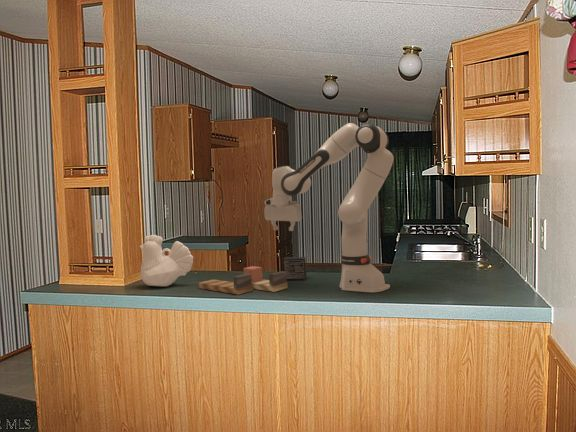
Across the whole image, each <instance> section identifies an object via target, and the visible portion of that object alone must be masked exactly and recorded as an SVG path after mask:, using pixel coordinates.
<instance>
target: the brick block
mask: <svg viewBox="0 0 576 432" xmlns="http://www.w3.org/2000/svg"><path fill="white" fill-rule="evenodd" d="M242 270H243V274H251V280H252V282H257V281H261V280H262V279H263V267H261V266H255V265H254V266H253V265H251V266H248V267H243V269H242Z"/></svg>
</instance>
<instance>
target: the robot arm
mask: <svg viewBox="0 0 576 432" xmlns="http://www.w3.org/2000/svg"><path fill="white" fill-rule="evenodd" d="M389 140H390V139H389V135H388V133H386V131H385V130H384V129H382V128H381V127H379V126H377V125H375V124H373V123H365V124H362V125H360V126H358V125H357V124H355V123H352V122H348V123H346V124H344V125H343V126H342V127H340V128H339V129H338V130H336V131H335V132H334V133H333V134H332V135H331V136H330V137H328V139H326V140H325V142H324V143H323V144H322V145H321V146H320V148H318V150H317V151H315V152H314V154H313V155H312V156H310V157H309V158H308V159H307V160H306V161H305V162H303V164H301V166H299V167H298V168H297V169H293V168H291V167H290V166H289V165H283V166H277V167H274V169H273V171H272V176H271V184H272V185H271V187H272V189H273V191H272V197H270V198H269V199H266V200H264V205H265V206H264V209H263V210H264V211H263V212H264V214H263V215H264V219H265V221H270V223H271V225H272V229H273V231H278V230H279V226H278V225H277V222H289V223H290V226H288V231H289V232H293V231H294V230H295V229H294V227H295V225H296V222H301V221H302V219H303V215H302V209H301V204H300V203H299V201H297V200H294V201H293V198H292V196H296V195H301V194H304V193H306V192H308V191H309V190H310V188H311V187H312V179H311V177H312V176H313V175H315V173H316V172H317V171H319V170H320V169H323V168H325V167H327V166H330V165H333V164H335V163H336V164H337V163H338V162H340V161H341V160H343V159H344V158H345V157H347V156H348V155H349V154H350V153H351V152H352V151H354V149H355V148H358V147H360V148H361V150H363V151H364V152H365V153H366V154H367V159H366V161H365V163H364V165H363V167H362V168H361V170H360V171H359V174H358V176H357V178H356V179H355V181H354V183H353V184H352V186H351V187H350V189H349V190H348V192H347V194H346V195H345V197H344V199H343V200H342V202H341V203H340V205H339V208H338V211H337V215H338V218H339V220H340V221H341V222H342V229H341V230H342V231H341V237H340V238H341V255H340V261H341V262H340V263H341V275H340V276H341V277H340V283H339V285H338V287H339V288H340V289H341V291H348V292H349V291H350V292H361V293H380V292H384V291H387V290H388V289H390V288H391V284H389V283H387V284H386V282H385V276H384V274H383V273H382V272H381V271H380V270H379V269H378V268H377V267H376V266H374V265H373V264H372V263H371V262H372V261H371V260H373V256H369V255H368V246H367V245H368V242H367V241H368V240H367V236H368V235H367V234H368V210H369V208H370V207H371V205H372V203H373V201H374V200H375V198H376V196H377V195H378V193H379V192H380V190H381V188H382V187H383V185H384V183H385V181H386V179H387V178H388V176H389V174H390V171H391V169H392V166H393V164H394V160H395V159H394V155H393V153H392V152H391V151H390V150H388V149H387V148H388V146H389V143H390V141H389Z"/></svg>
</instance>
